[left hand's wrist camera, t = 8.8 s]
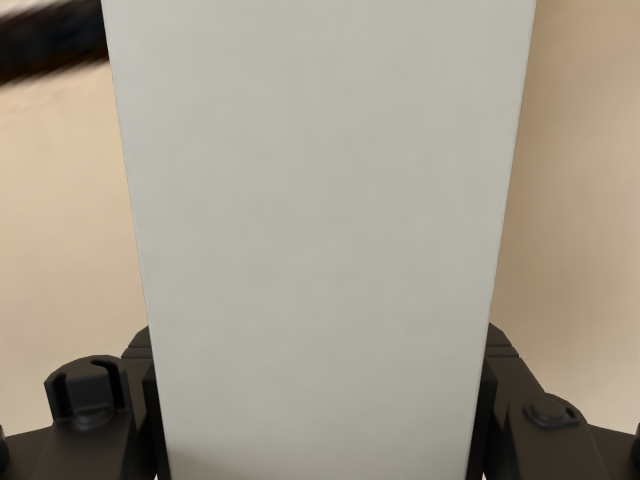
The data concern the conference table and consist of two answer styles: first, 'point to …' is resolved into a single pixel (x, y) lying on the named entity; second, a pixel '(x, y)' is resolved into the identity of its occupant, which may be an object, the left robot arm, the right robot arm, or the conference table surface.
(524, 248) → the conference table surface
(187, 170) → the bar
